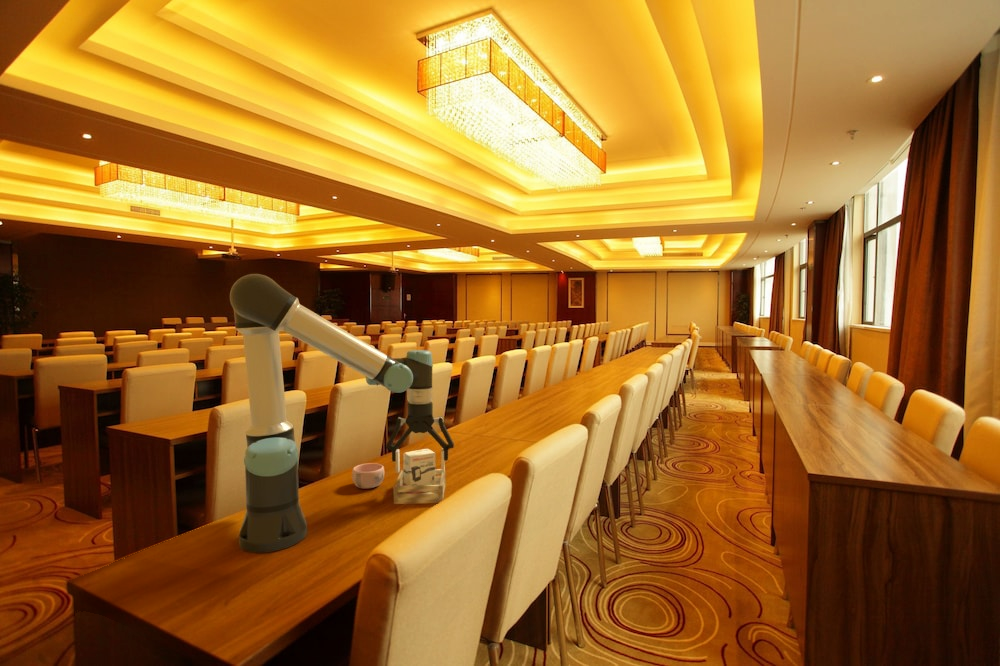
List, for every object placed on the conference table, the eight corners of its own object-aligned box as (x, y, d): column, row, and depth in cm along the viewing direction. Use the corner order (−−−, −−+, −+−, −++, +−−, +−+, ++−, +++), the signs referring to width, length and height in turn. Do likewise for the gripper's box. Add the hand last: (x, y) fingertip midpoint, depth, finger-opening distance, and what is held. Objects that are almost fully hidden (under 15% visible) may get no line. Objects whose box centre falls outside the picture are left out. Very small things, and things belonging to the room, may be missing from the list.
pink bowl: (373, 493, 150) (373, 474, 150) (345, 489, 153) (345, 470, 153) (393, 480, 162) (393, 462, 161) (367, 477, 165) (366, 459, 164)
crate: (393, 504, 142) (393, 486, 141) (401, 485, 157) (401, 469, 156) (442, 502, 142) (442, 485, 142) (445, 484, 157) (445, 468, 157)
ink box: (409, 496, 145) (409, 456, 144) (403, 490, 149) (402, 452, 148) (436, 490, 150) (435, 451, 149) (429, 485, 154) (428, 448, 153)
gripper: (375, 404, 144) (376, 476, 145) (461, 403, 145) (461, 474, 146) (380, 399, 151) (380, 468, 152) (461, 399, 153) (462, 466, 154)
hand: (420, 471), depth 149 cm, fingers open, 13 cm apart
